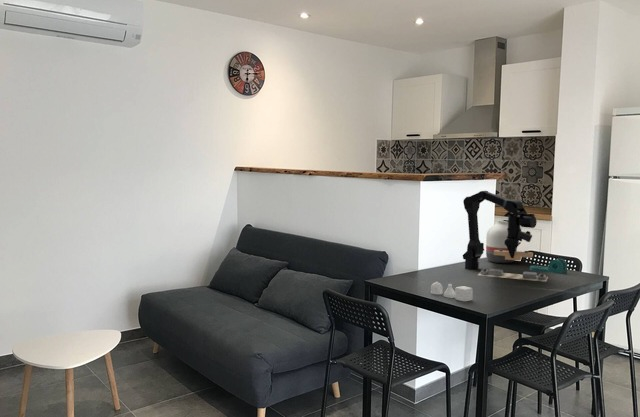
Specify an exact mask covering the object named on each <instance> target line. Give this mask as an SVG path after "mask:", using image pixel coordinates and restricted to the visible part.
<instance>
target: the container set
mask: <svg viewBox="0 0 640 417" xmlns="http://www.w3.org/2000/svg"><path fill="white" fill-rule="evenodd" d="M473 292H474V291H473V287H469V286H464V285H462V286H457V287H455V288H454V289H453V283H448V284H447V288H446V289H445V290H444V292H443V285H442V284H441V283H440V282H439V281H435V282H433V283H432V284H431V285H430V294H431V295H432V294H433V295H443V297H444V298H448V299H453V298H454V299H455V300H457V301H461V302H470V301H473Z"/></svg>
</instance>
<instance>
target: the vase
mask: <svg viewBox="0 0 640 417" xmlns="http://www.w3.org/2000/svg"><path fill="white" fill-rule="evenodd" d="M507 228H508V220H507V221H506V220H497V221H495V223H494V224H493V225H491V226H490V227H489V228H488V230H487V232H486V237H485V238H486V240H485V241H486V242H485V243H486V244H485V245H486V246H485V256H486V259H487V260H488V261H489V262H492V263H495V264H511V263H514V262H515V260H506V259H505V256H501V255H494V250H499V249H502V250H504V251H508V249H507V246H506V245H504V242H505V240H506V239H507V236H508V230H507ZM517 250H518V249H517ZM517 250H516V251H517Z"/></svg>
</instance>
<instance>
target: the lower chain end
mask: <svg viewBox="0 0 640 417" xmlns="http://www.w3.org/2000/svg"><path fill="white" fill-rule="evenodd" d="M480 272H481V274H483V275H487V274H488V273H489V275H494V276H502V274H503V273H504V269H499V268H490V269H486V268H483V269H481V270H480Z"/></svg>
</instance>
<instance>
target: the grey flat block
mask: <svg viewBox="0 0 640 417" xmlns="http://www.w3.org/2000/svg"><path fill="white" fill-rule="evenodd" d="M522 275H523V278H527V279H536V278H537V276H538V280H545V278H546V277H547V276H546V274H545V273H539V274H538V272H536V271H535V272H534V271H523V272H522Z"/></svg>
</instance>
